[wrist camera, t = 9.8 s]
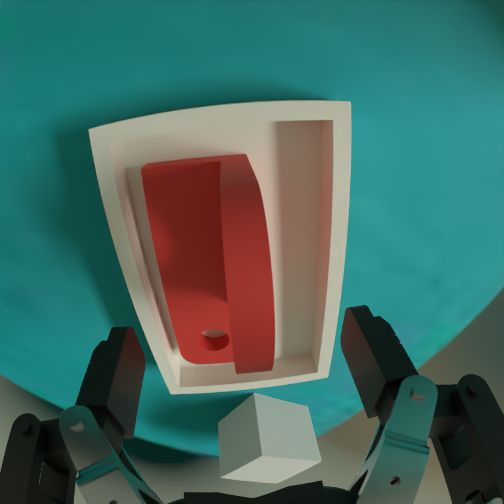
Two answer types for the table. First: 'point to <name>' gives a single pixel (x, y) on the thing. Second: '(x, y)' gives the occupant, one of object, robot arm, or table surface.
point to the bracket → (214, 258)
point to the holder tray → (277, 218)
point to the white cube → (266, 440)
